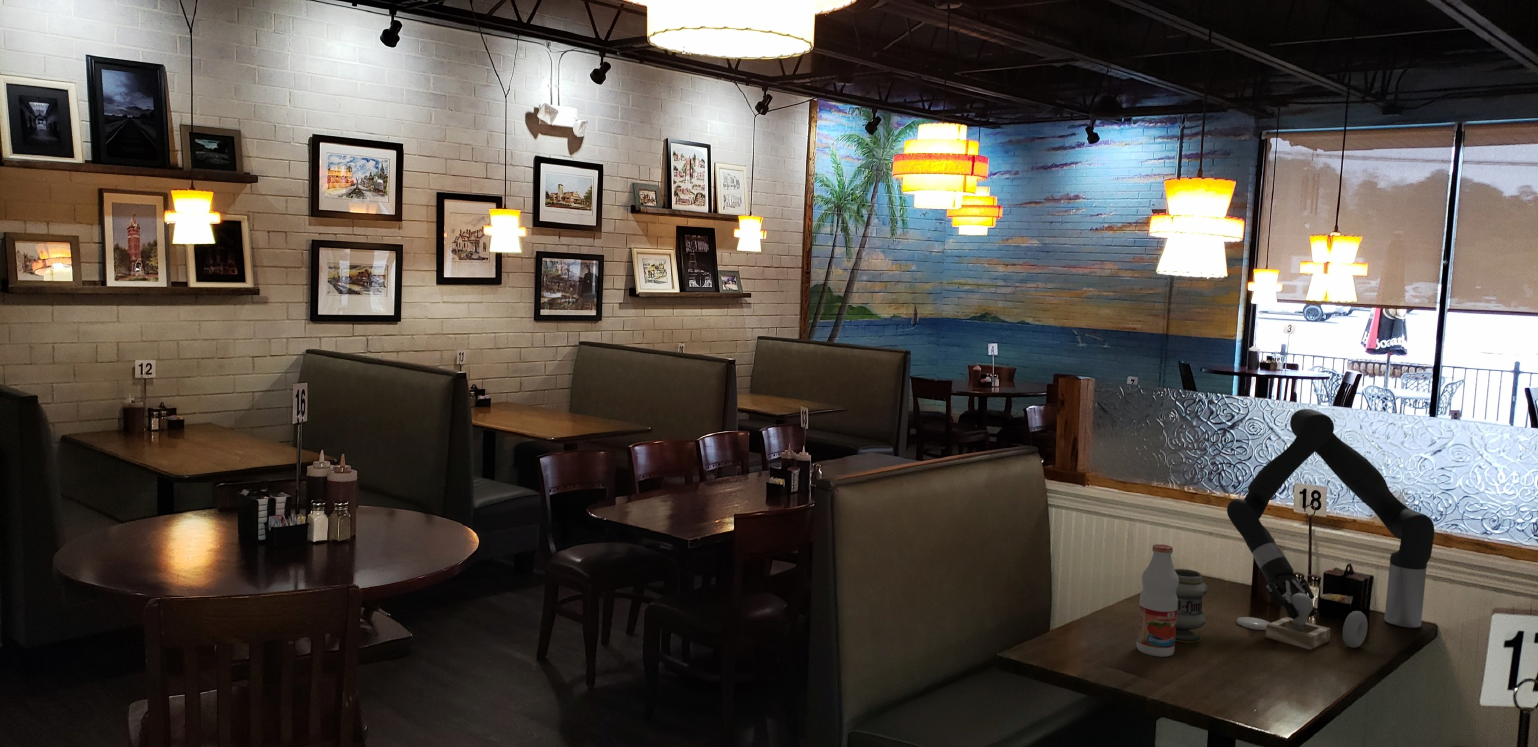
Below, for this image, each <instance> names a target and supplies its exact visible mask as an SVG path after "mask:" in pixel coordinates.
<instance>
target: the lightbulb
mask: <svg viewBox="0 0 1538 747" xmlns="http://www.w3.org/2000/svg"><path fill="white" fill-rule="evenodd" d="M1307 595H1308V594H1307ZM1307 595H1306V594H1303V593H1300V592H1298V593H1296V594H1294V595H1292V596H1290V598H1291V604H1292V603H1293V605H1294V607H1295V608H1296V610H1297V612H1298V613H1299V617H1297V618H1296V619H1293V623H1294V624H1293V629H1294V630H1296V631H1300V632H1302V631H1303V630H1304V624H1305V623H1306V622H1307V618H1308V616H1309V614H1310V612H1311V611H1312V609H1313V606H1314V602H1313V599H1312V600H1311V598H1310V597H1309V595H1308V596H1307Z"/></svg>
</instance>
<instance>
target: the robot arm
mask: <svg viewBox="0 0 1538 747" xmlns="http://www.w3.org/2000/svg"><path fill="white" fill-rule="evenodd" d="M1289 422H1290V423H1289V425H1290V429H1291V432H1292V434H1293V435H1294V436H1295V438H1294V440H1293V441H1292V443H1291V444H1290V445H1289V446H1287V448H1286V449H1285V450H1283V451H1282V452H1281V453H1279V455H1277V456H1275V457H1274V458H1273V459H1272V460H1270V461H1269V462H1267V463H1266V464H1265V465H1264V466H1263V467H1262V468H1261V469H1260V470H1259V472H1258V473H1257V474H1256V476H1254V478H1253V479H1252V480H1251V482H1250V483H1249V485H1248V486H1247V491H1248V492H1247V494H1246V496H1244V499H1243V498H1235V499H1233V500H1230V502H1229V503H1228V505H1227V508H1226V514H1227V517H1228V518H1229V520H1230V522H1231V523H1232V525H1233V526H1234V528H1235V529H1236V530H1237V532H1238V533H1239V534H1240V535H1241V537H1242V538H1243V540H1244V541H1245V544H1246V546H1247V548H1248V549H1249V551H1250V553H1251V554H1252V556H1253V558H1254V561H1255V563H1256V564H1257V566H1258V568H1259V569H1260V571H1261V572H1262V574H1263V576H1264V578H1265V579H1266V582H1267V583H1269V584H1267V585H1266V586H1265V587H1264V589H1265V591H1266V592H1267V594H1268V595H1269V596H1270V598H1271V599H1272V601H1273V602H1274V603H1275V605H1276V606H1278V607H1280V606H1282V607H1283V608H1284V609H1285V611H1286V613H1287V614H1288V616H1290V618H1292V619H1296V618H1297V617H1299V613H1298V612H1297V610H1296V608H1295V607H1294V605H1293V603H1292V604H1291V598H1290V597H1291V596H1292V595H1294V594H1296V593H1303V594H1306V595H1307V596H1309V597H1310V598H1311V600H1312V601H1313V599H1315V595H1314V593H1313V591H1312V589H1311V587H1310V585H1309V582H1308V581H1307V580H1306V578H1303V579H1302V580H1301V579H1300V580H1298V579H1297V578H1296V577H1295V576H1294V572H1295V571H1294V568H1293V567H1292V565H1291V564H1290V562H1289V560H1288V558H1287V557H1286V556H1285V554H1284V552H1283V551H1282V549H1281V548H1280V546H1279V545H1278V544H1277V543H1276V541H1275V539H1274V538H1273V536H1272V535H1271V533H1270V532H1269V530H1268V529H1267V528H1266V527H1265V526H1264V525H1263V524H1262V523H1261V520H1260V519H1261V517H1262V516H1263V514H1264V512H1265V510H1266V508H1267V507H1268V505H1269V502H1270V500H1271V499H1272V498H1273V497H1274V496H1275V495H1276V493H1278V491H1279V490H1280V489H1281V488H1282V486H1283V485H1284V484H1285V482H1286V481H1288V479H1289V478H1290V477H1291V476H1292V475H1293V474H1294V472H1295V471H1296V470H1298V469H1299V467H1300V466H1301V465H1302V464H1304V463H1305V462H1306V461H1307V460H1308V459H1309V458H1310V457H1311V456H1312V455H1313V454H1314V453H1315V454H1317V455H1318V456H1319V457H1320V458H1321V459H1322V461H1323V462H1324V463H1325V464H1326V465H1327V466H1328V468H1329V469H1330V470H1331V471H1332V472H1333V473H1334V475H1336V477H1337V478H1338V479H1339V480H1340V481H1341V482H1342V483H1343V484H1344V485H1345V486H1346V487H1347V488H1348V489H1349V490H1350V491H1351V492H1352V493H1353V494H1354V495H1355V496H1356V497H1357V498H1359V500H1361V502H1363V503H1364V504H1365V505H1366V506H1367V507H1369V508H1370V510H1372V511H1373V512H1374V514H1375V515H1376V516H1377V518H1379V520H1380V521H1381V522H1382V524H1383V525H1384V526H1385V528H1386V529H1387V530H1388V531H1389V532H1390V533H1391V535H1393V536H1394V537H1395V538H1397V539H1399V540H1400V543H1399V549H1398V550H1397V551H1393V552H1392V553H1390V557H1389V569H1388V579H1387V590H1386V599H1385V610H1384V621H1385V622H1387V623H1388V624H1391V625H1394V626H1398V627H1404V628H1411V629H1412V628H1413V629H1414V628H1421V626H1422V618H1423V610H1424V609H1423V607H1424V600H1425V598H1424V597H1425V588H1426V577H1427V567H1428V563H1429V561H1430V559H1431V556H1432V552H1433V551H1432V550H1433V545H1434V539H1435V524H1434V522H1433V520H1432V518H1430V516H1428V515H1426V514H1424V513H1422V512H1419V511H1416V510H1414V509H1411V508H1409V507H1408V506H1407V505H1405V504H1404V503H1403V502H1401V501H1400V500H1399V498H1397V497H1396V496H1395V495H1394V494H1393V493H1392V491H1391V490H1390V488H1389V486H1388V484H1387V482H1386V479H1385V477H1384V476H1383V475H1382V474H1381V472H1380V471H1379V470H1378V469H1377V467H1375V466H1374V464H1373V463H1372V462H1370V461H1369V460H1368V459H1367V458H1366V457H1365V456H1363V455H1362V454H1361V453H1360V452H1358V451H1357V450H1356V449H1354V448H1353V447H1352V446H1349V445H1348V444H1347V443H1346V442H1344V441H1343V440H1341V439H1340V438H1339V437H1338V436H1337V435H1336V434H1335V433H1334V431H1335V425H1334V424H1335V423H1334V421H1333V420H1332V419H1331V417H1330V416H1329V415H1327V414H1325V413H1322V412H1320V411H1317V410H1314V409H1309V408H1303V409H1299V410H1296V411H1295V412H1294V413H1292V415H1291V417H1290V421H1289ZM1317 614H1318V613H1317V610H1316V608H1315V606H1314V605H1313V609H1312V611H1311V612H1310V614H1309V615H1308V616H1309V617H1314V616H1316V615H1317Z"/></svg>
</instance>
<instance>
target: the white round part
mask: <svg viewBox="0 0 1538 747" xmlns="http://www.w3.org/2000/svg"><path fill="white" fill-rule="evenodd" d="M1236 623H1237V624H1238V625H1239V626H1240V625H1241V626H1240V627H1243V628H1246V629H1250V630H1256V631H1266V627H1267V624H1270V623H1271V622H1269V621H1267V620H1265V619H1262V618H1257V617H1249V616H1243V617H1241V616H1240V617H1238V618H1236Z"/></svg>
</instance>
